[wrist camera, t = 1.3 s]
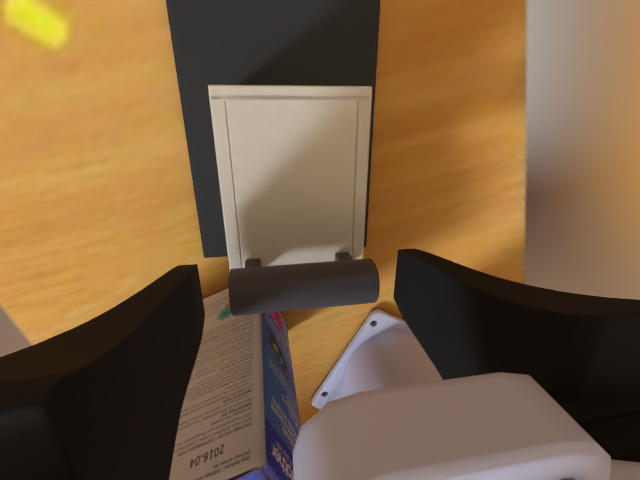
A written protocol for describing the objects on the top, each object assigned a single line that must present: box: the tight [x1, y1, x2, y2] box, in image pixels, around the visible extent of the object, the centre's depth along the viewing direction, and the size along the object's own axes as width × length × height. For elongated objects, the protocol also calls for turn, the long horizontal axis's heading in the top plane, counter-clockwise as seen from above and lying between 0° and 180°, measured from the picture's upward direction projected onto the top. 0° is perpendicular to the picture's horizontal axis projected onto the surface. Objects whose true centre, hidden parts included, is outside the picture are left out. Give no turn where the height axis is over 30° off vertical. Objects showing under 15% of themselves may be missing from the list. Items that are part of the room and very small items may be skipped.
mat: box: [166, 0, 380, 258], centre depth 17 cm, size 17×10×1 cm, turn 0°
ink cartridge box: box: [169, 289, 301, 480], centre depth 15 cm, size 10×6×14 cm, turn 111°
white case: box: [208, 85, 379, 316], centre depth 14 cm, size 8×6×9 cm
